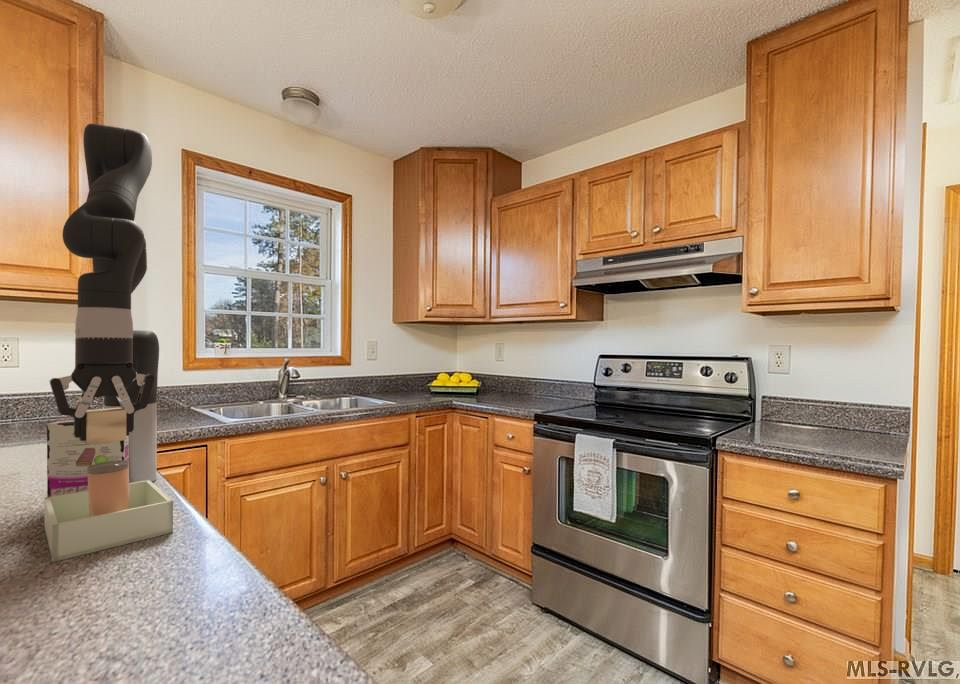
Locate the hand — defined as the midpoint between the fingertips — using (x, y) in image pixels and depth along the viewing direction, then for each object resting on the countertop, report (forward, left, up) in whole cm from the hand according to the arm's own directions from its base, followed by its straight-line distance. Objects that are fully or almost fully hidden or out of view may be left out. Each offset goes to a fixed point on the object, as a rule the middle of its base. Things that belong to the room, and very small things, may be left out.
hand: (104, 437), depth 78 cm
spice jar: (+6, +4, -14) cm, 16 cm away
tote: (+3, +2, -15) cm, 15 cm away
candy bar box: (-10, -8, -15) cm, 20 cm away
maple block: (0, 0, 0) cm, 0 cm away
